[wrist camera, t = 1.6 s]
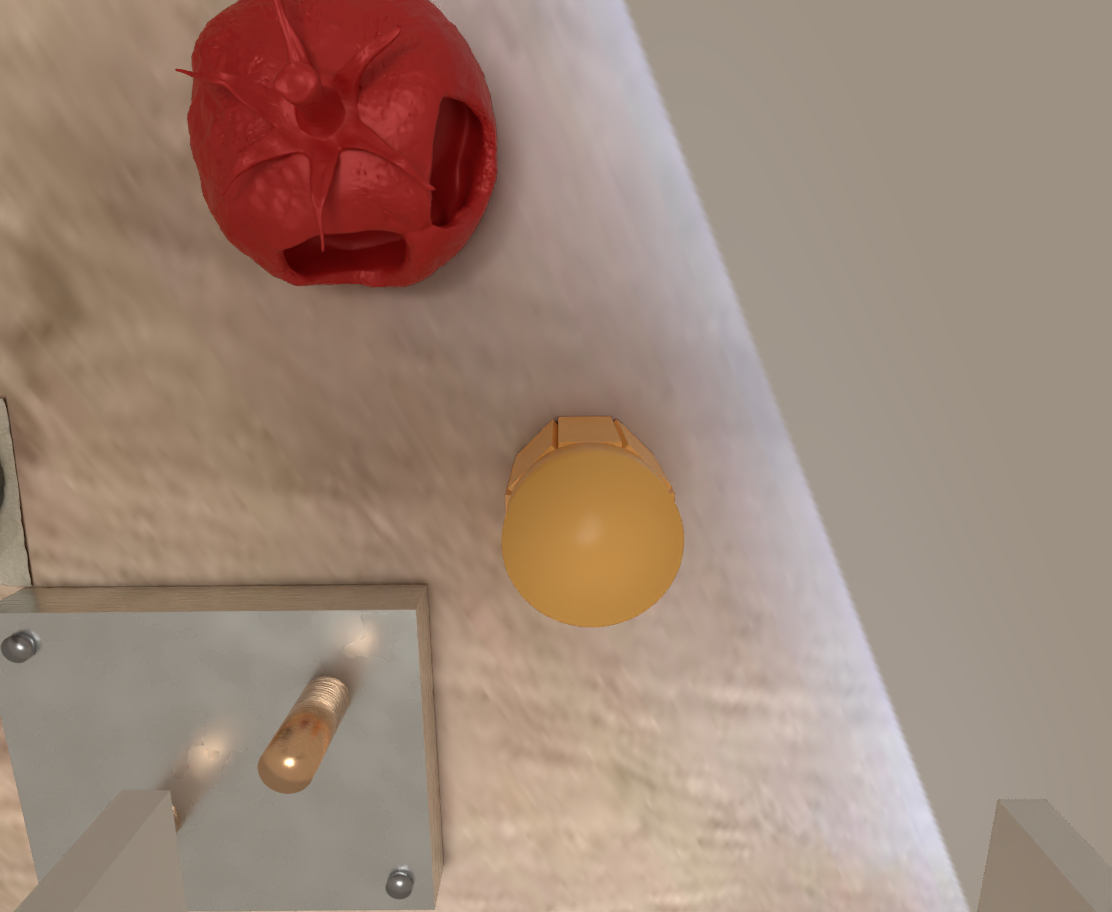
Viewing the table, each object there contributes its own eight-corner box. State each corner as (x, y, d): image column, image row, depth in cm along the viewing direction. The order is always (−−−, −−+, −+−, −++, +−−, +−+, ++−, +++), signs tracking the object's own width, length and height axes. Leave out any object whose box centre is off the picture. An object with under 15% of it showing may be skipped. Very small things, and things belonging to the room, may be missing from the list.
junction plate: (23, 587, 30) (-131, 673, 24) (427, 584, 30) (389, 668, 23) (81, 867, 34) (-38, 1012, 27) (443, 865, 34) (415, 1009, 27)
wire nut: (513, 417, 29) (498, 456, 22) (656, 415, 29) (686, 454, 22) (516, 551, 30) (504, 627, 23) (653, 550, 30) (681, 626, 23)
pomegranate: (199, 136, 26) (1, 48, 17) (398, -41, 25) (297, -239, 16) (363, 345, 28) (260, 367, 19) (559, 191, 26) (551, 134, 17)
